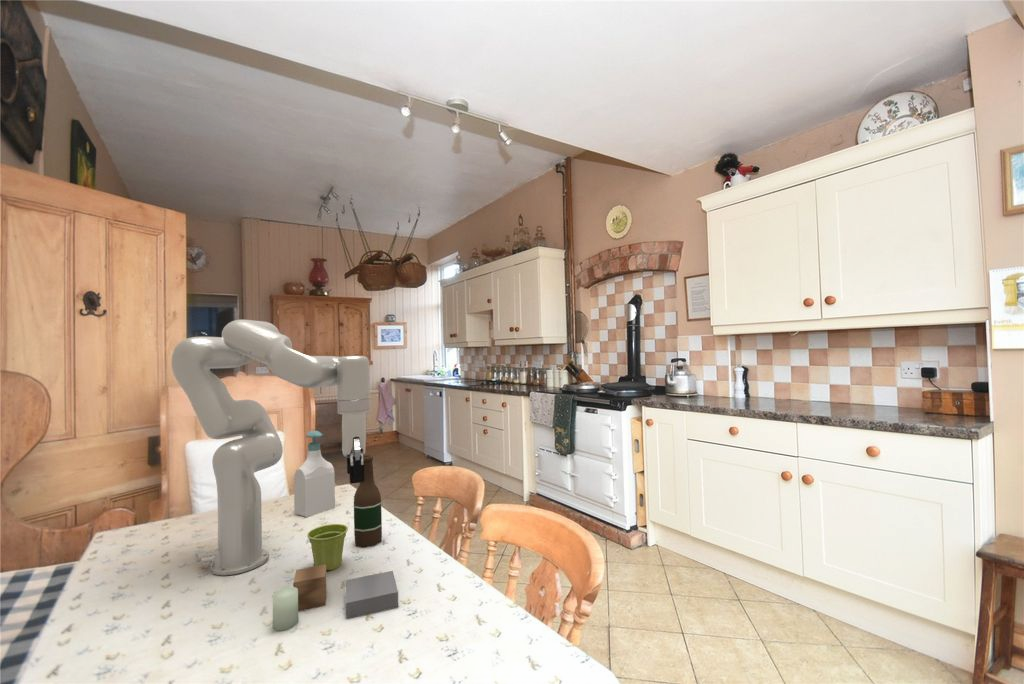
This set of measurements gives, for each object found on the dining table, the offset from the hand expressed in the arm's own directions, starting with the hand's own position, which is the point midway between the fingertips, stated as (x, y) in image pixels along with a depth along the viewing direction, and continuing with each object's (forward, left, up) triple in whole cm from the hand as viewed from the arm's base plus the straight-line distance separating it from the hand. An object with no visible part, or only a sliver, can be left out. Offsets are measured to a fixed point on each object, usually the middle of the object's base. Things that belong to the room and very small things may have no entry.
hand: (355, 477), depth 107 cm
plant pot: (-7, +7, -23) cm, 25 cm away
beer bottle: (+3, +18, -23) cm, 29 cm away
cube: (-10, -9, -23) cm, 26 cm away
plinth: (+2, -14, -23) cm, 27 cm away
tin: (-14, -16, -23) cm, 31 cm away
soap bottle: (-12, +53, -23) cm, 59 cm away
